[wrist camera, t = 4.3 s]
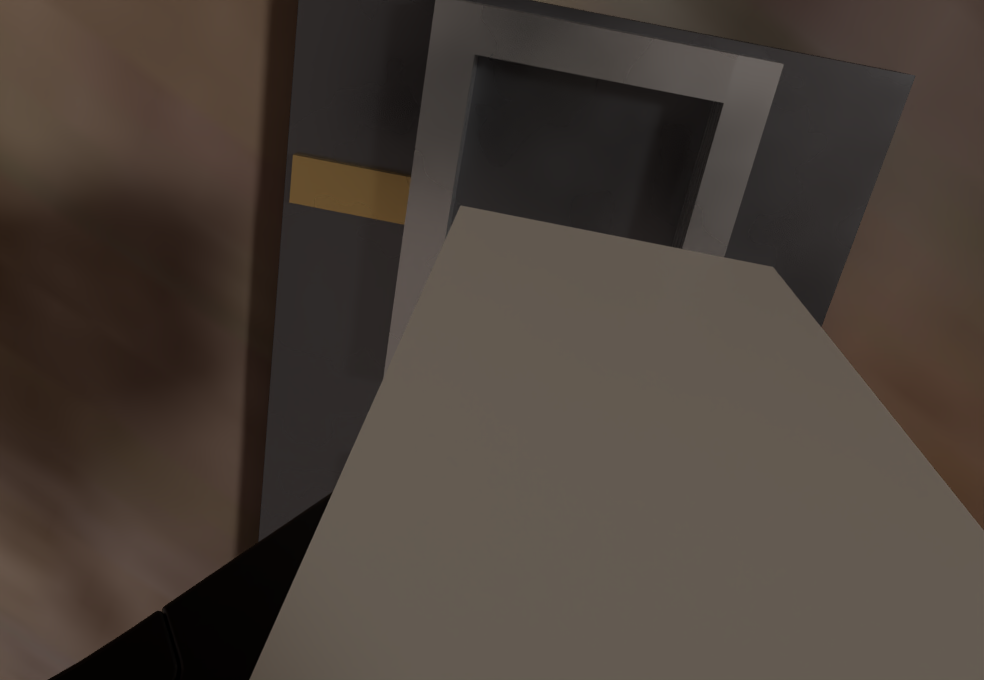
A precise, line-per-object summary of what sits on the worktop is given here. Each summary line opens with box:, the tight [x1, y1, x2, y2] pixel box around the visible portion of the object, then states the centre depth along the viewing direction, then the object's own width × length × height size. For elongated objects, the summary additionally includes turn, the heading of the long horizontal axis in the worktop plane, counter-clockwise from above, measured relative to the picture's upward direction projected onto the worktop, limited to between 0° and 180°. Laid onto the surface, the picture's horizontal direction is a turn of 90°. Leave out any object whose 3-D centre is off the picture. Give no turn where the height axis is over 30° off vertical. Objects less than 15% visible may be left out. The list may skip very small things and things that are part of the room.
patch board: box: [258, 0, 915, 542], centre depth 23 cm, size 14×24×2 cm, turn 170°
